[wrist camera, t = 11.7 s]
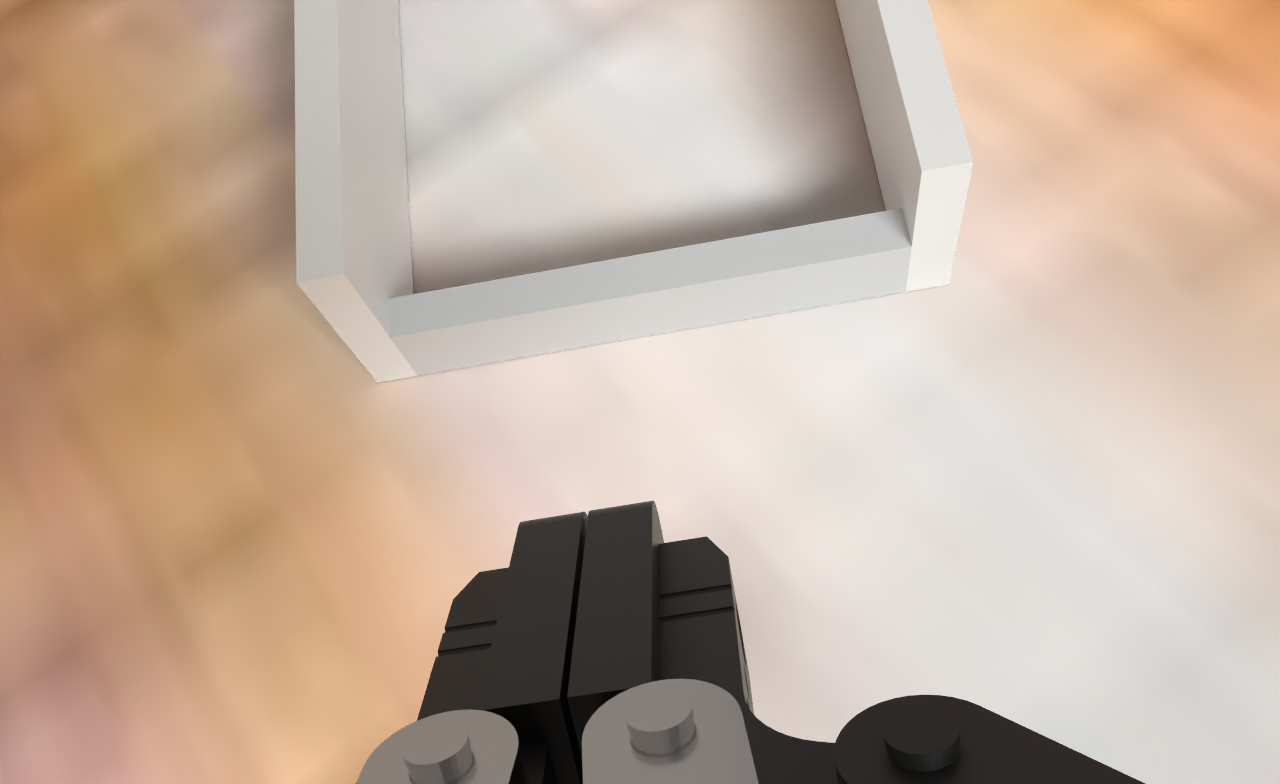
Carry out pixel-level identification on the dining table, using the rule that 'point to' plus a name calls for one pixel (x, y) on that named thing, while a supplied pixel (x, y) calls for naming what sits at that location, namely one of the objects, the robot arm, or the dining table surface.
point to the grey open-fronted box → (617, 288)
